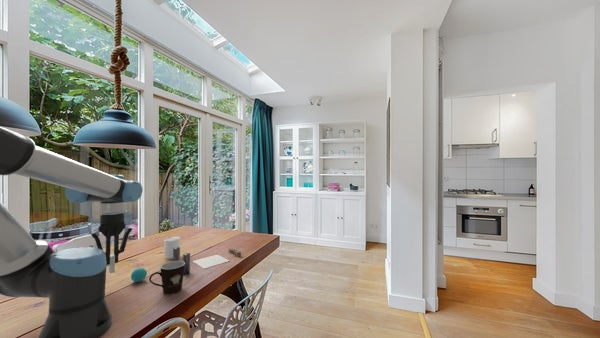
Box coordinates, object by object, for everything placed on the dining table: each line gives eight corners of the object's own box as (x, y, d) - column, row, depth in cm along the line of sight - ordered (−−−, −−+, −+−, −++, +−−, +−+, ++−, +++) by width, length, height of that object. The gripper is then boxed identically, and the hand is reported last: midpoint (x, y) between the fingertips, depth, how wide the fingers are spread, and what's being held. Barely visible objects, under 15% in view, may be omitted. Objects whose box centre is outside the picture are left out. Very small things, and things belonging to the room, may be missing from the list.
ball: (148, 281, 98) (148, 268, 98) (132, 285, 94) (132, 272, 94) (144, 277, 102) (145, 264, 102) (129, 281, 98) (129, 268, 98)
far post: (180, 266, 115) (180, 247, 115) (174, 267, 113) (174, 249, 113) (178, 264, 117) (178, 246, 117) (171, 266, 115) (172, 247, 115)
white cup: (160, 258, 125) (160, 240, 125) (171, 254, 133) (172, 236, 133) (172, 260, 123) (172, 241, 123) (183, 255, 131) (183, 237, 131)
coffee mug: (185, 283, 96) (186, 259, 97) (183, 293, 88) (183, 267, 89) (153, 288, 92) (154, 263, 92) (148, 299, 84) (148, 271, 84)
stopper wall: (240, 256, 129) (241, 252, 129) (237, 257, 127) (237, 252, 127) (231, 252, 136) (231, 248, 136) (228, 253, 134) (228, 248, 134)
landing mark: (229, 261, 122) (229, 260, 122) (203, 268, 111) (203, 268, 111) (217, 254, 131) (217, 254, 131) (192, 261, 121) (192, 261, 121)
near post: (190, 273, 106) (191, 254, 106) (184, 275, 104) (184, 255, 104) (188, 271, 108) (188, 252, 108) (181, 273, 106) (181, 254, 106)
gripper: (130, 209, 99) (129, 264, 99) (89, 213, 90) (88, 274, 90) (134, 212, 94) (133, 269, 94) (91, 216, 85) (90, 280, 85)
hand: (111, 271), depth 92 cm, fingers closed
